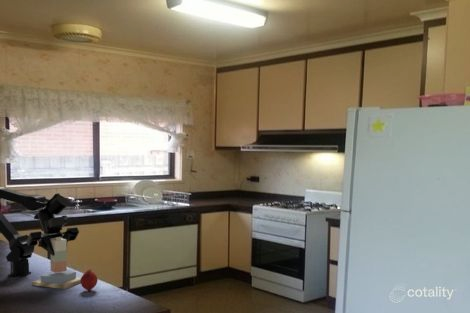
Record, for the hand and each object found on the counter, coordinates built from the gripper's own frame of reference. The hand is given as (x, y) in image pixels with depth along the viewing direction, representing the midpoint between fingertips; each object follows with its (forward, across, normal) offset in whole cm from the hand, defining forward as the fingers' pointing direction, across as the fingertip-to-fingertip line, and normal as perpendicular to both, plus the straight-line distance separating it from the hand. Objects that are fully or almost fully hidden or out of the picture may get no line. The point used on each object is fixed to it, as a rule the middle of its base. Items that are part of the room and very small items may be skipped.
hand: (60, 254), depth 178 cm
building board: (+7, 0, +9) cm, 11 cm away
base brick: (+6, 0, +8) cm, 10 cm away
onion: (+19, +4, -3) cm, 20 cm away
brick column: (+4, 0, +6) cm, 7 cm away
